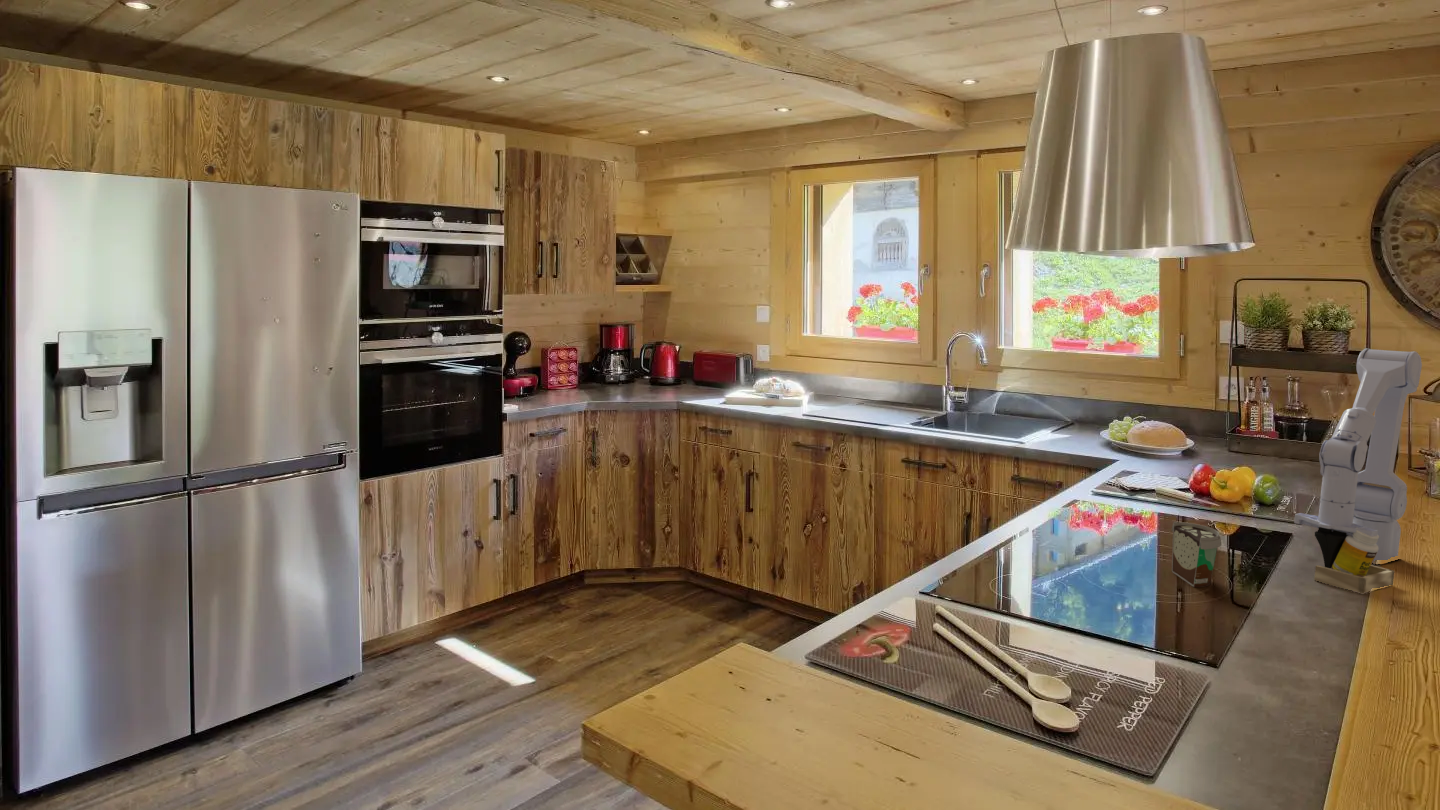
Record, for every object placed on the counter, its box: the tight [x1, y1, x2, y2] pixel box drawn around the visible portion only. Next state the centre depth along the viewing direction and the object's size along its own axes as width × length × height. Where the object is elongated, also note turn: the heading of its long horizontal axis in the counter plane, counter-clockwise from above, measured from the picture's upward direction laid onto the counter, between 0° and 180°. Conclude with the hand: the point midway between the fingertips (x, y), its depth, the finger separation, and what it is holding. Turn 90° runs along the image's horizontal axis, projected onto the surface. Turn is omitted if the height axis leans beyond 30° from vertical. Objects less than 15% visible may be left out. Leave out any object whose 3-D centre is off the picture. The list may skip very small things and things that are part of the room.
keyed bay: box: [1313, 564, 1395, 593], centre depth 183 cm, size 11×9×3 cm
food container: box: [1171, 521, 1222, 588], centre depth 184 cm, size 12×6×10 cm, turn 179°
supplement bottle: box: [1331, 528, 1379, 576], centre depth 183 cm, size 6×6×10 cm
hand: (1330, 567), depth 187 cm, fingers closed
